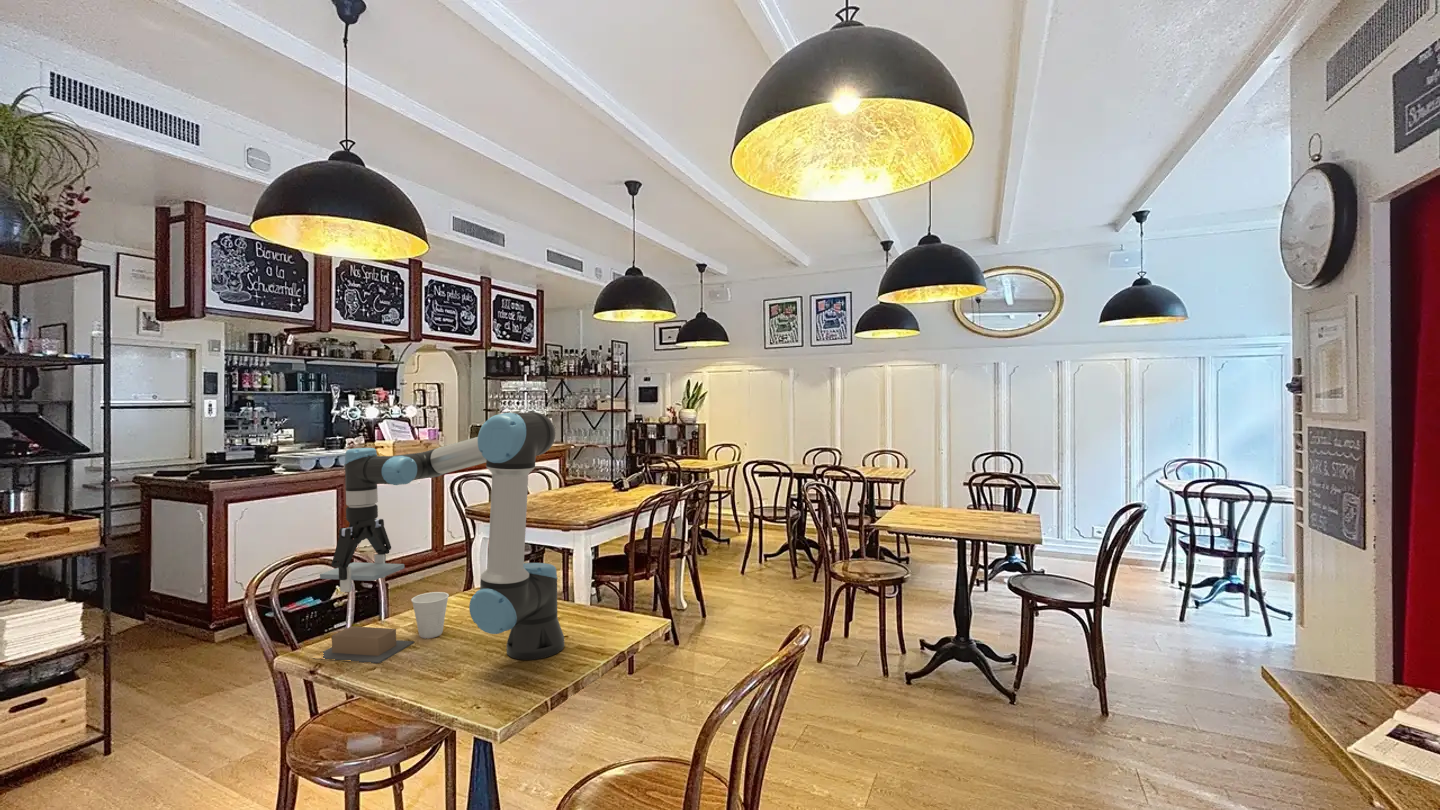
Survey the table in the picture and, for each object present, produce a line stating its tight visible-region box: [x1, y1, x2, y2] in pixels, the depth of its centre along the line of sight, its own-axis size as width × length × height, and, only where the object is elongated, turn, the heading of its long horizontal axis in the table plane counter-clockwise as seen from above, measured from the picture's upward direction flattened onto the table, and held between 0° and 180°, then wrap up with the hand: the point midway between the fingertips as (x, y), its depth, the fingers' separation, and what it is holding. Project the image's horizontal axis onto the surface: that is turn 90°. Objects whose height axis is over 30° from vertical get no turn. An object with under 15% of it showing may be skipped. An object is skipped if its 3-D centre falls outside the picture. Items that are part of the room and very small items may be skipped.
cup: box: [410, 591, 450, 639], centre depth 183 cm, size 10×10×11 cm
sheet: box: [319, 561, 405, 582], centre depth 172 cm, size 16×12×1 cm
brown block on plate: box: [322, 625, 415, 664], centre depth 172 cm, size 20×14×5 cm
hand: (363, 584), depth 172 cm, fingers closed on sheet, 12 cm apart
